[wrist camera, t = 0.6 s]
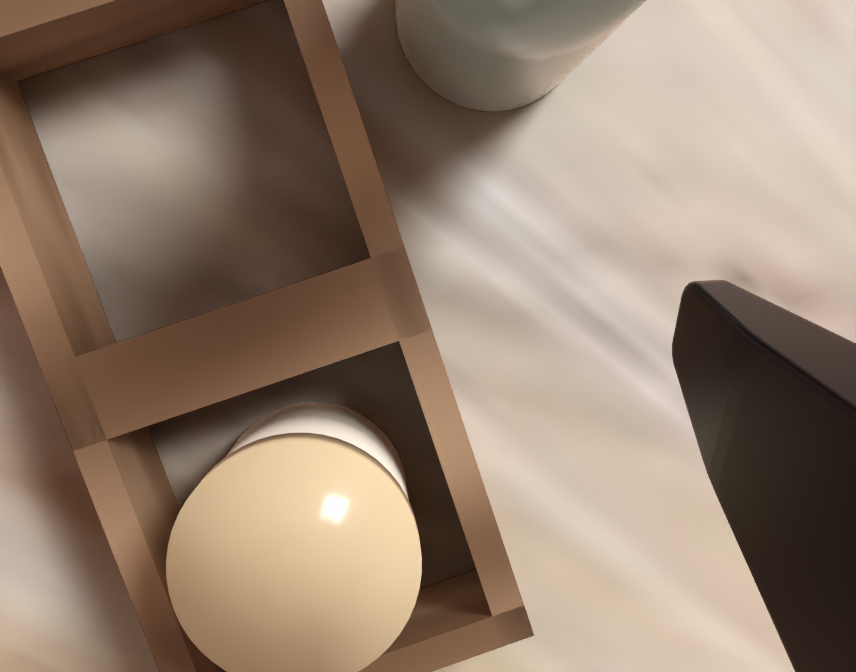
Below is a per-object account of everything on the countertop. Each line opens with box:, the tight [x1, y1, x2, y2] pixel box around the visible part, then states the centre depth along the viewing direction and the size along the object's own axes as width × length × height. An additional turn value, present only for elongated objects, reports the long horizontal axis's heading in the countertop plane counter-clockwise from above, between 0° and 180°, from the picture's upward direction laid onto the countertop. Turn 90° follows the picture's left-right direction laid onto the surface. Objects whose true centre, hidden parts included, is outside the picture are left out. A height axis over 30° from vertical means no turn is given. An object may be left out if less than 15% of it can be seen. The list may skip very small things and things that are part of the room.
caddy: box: [0, 0, 534, 672], centre depth 20 cm, size 18×9×3 cm, turn 18°
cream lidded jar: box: [166, 402, 422, 672], centre depth 19 cm, size 5×5×5 cm
